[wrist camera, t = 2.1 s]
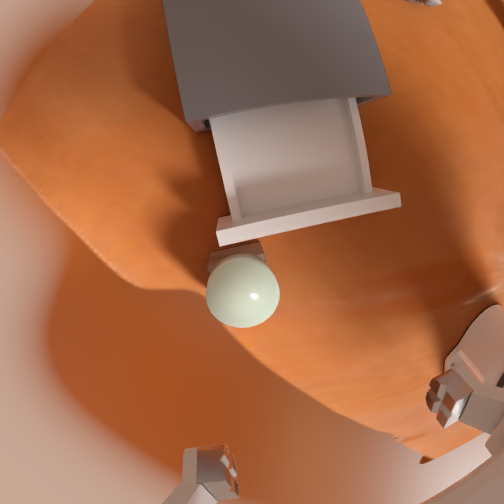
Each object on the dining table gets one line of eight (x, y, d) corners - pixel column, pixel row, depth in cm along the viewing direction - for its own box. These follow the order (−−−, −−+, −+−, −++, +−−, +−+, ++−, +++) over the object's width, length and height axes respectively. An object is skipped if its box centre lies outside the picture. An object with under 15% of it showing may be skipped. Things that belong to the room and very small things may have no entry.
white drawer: (371, 200, 28) (401, 209, 22) (222, 232, 27) (220, 250, 22) (335, 35, 22) (356, 12, 16) (182, 54, 22) (171, 30, 16)
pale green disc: (281, 308, 26) (284, 318, 24) (217, 322, 26) (216, 333, 24) (268, 246, 24) (272, 253, 22) (199, 262, 24) (197, 270, 22)
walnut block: (269, 286, 30) (274, 304, 26) (222, 297, 30) (221, 316, 26) (259, 241, 28) (264, 253, 24) (209, 252, 28) (206, 266, 24)
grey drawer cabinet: (356, 107, 25) (391, 94, 18) (196, 133, 25) (185, 122, 18) (311, -26, 19) (329, -59, 13) (168, -10, 19) (155, -45, 12)
